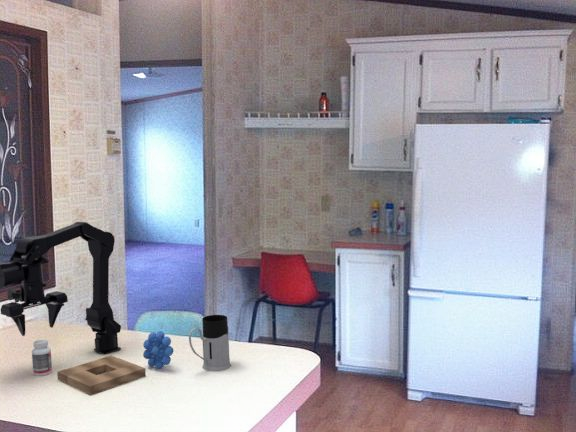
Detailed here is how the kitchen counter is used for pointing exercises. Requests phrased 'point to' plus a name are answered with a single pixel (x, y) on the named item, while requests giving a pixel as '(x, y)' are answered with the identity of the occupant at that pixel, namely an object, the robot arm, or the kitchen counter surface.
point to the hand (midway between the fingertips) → (37, 331)
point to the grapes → (158, 350)
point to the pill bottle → (41, 358)
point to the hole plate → (87, 374)
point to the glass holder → (214, 343)
